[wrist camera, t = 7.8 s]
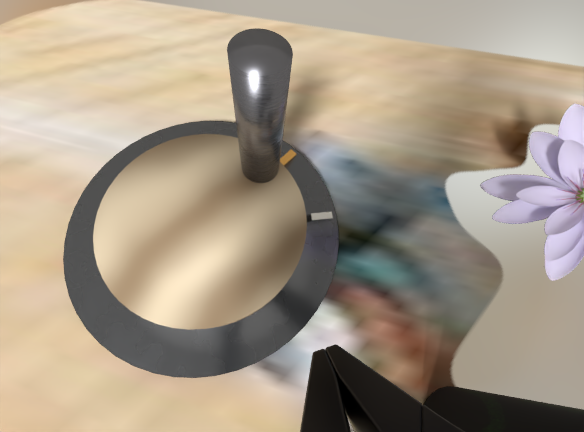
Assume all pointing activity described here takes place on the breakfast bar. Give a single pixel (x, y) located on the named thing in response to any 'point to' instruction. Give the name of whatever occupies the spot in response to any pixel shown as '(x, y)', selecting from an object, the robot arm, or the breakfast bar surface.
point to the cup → (502, 412)
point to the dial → (209, 208)
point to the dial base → (213, 341)
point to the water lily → (550, 193)
